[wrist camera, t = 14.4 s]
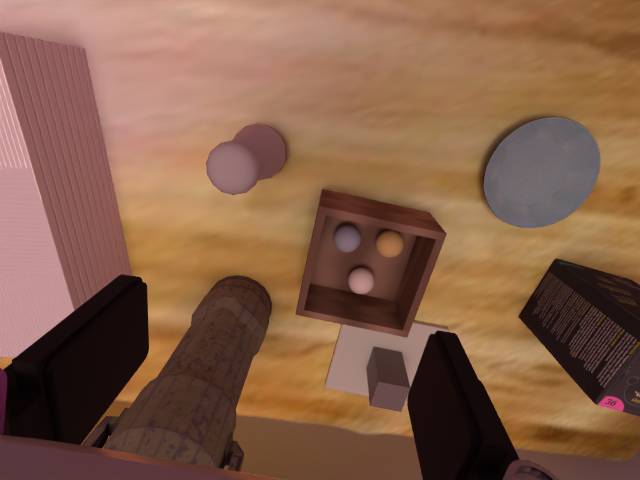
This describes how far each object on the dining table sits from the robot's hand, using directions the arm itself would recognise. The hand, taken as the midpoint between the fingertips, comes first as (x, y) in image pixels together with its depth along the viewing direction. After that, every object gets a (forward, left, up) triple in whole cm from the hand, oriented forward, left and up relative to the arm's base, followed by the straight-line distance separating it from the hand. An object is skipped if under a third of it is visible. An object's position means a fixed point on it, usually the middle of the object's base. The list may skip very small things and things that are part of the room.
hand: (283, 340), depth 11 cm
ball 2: (-7, +12, -30) cm, 33 cm away
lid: (-14, +24, -31) cm, 42 cm away
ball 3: (-9, +6, -30) cm, 32 cm away
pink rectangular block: (+29, +10, -31) cm, 44 cm away
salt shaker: (+7, -1, -31) cm, 32 cm away
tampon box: (-35, +9, -31) cm, 48 cm away
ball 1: (-4, +7, -30) cm, 31 cm away
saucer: (-23, -5, -31) cm, 39 cm away
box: (-7, +9, -31) cm, 33 cm away
